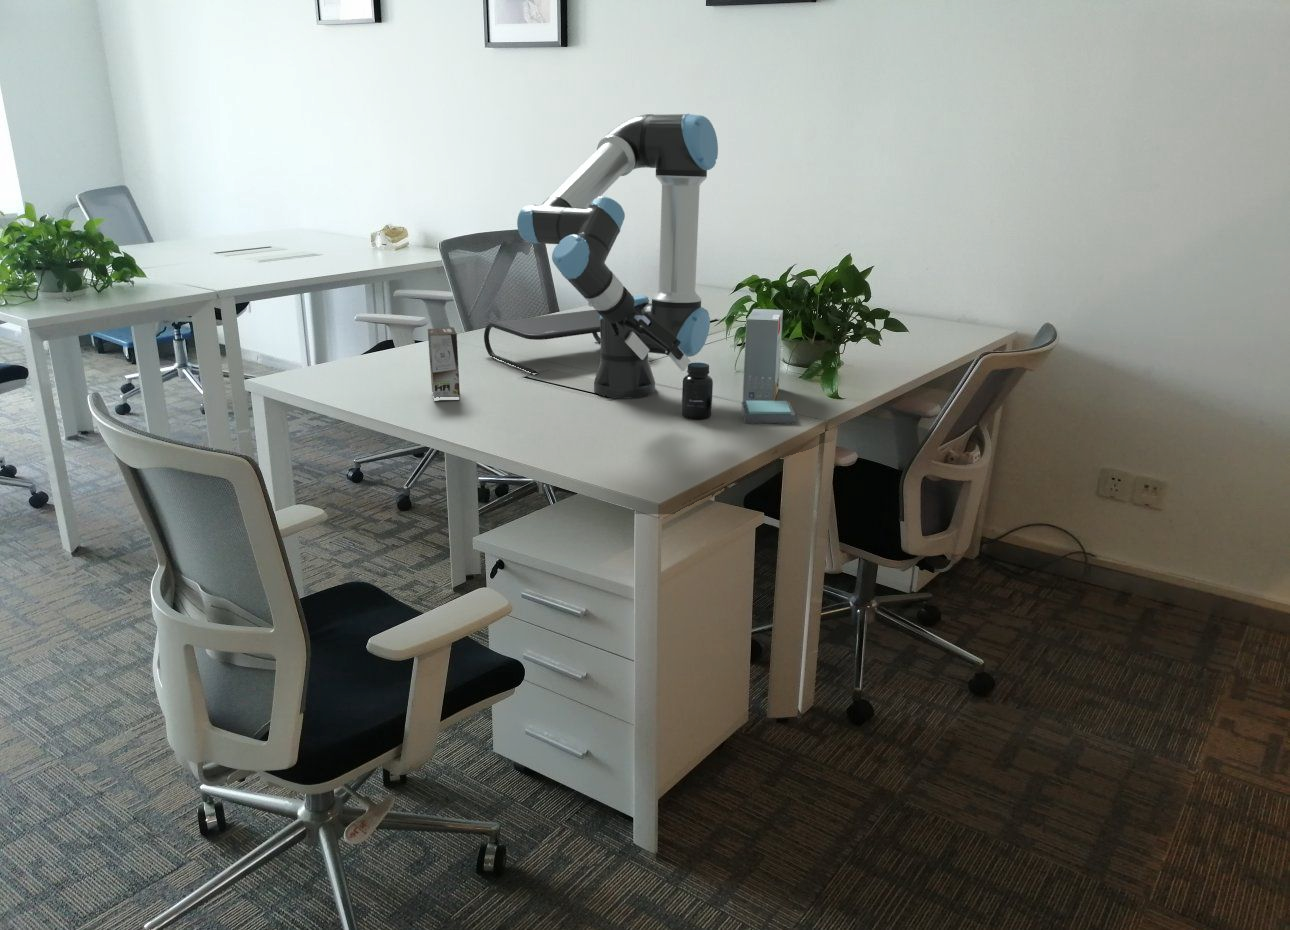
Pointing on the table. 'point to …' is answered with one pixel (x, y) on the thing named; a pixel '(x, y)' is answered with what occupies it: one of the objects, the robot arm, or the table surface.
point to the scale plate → (768, 407)
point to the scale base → (767, 416)
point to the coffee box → (444, 362)
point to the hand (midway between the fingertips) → (665, 360)
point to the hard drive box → (762, 355)
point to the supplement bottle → (697, 392)
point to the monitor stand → (546, 329)
